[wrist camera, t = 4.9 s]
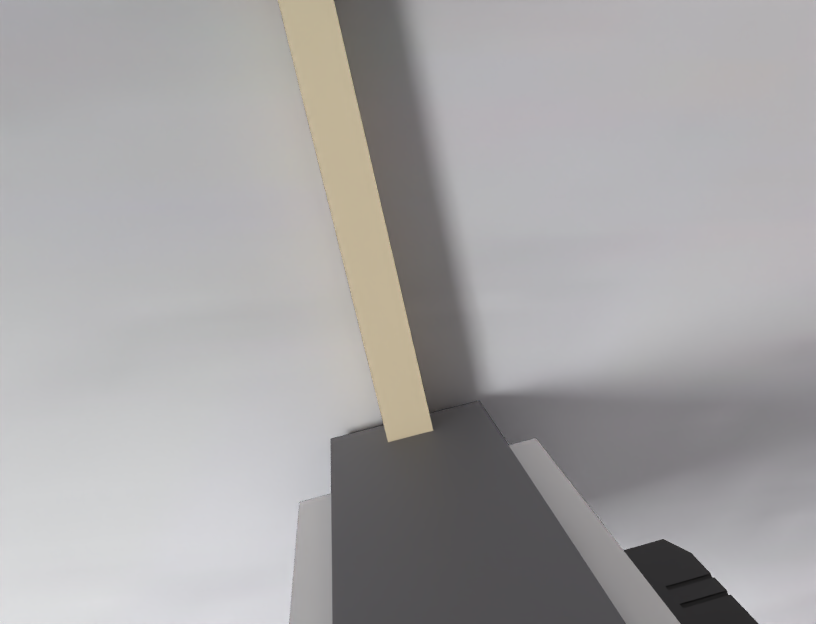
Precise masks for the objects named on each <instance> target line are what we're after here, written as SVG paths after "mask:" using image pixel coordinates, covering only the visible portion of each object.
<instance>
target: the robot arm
mask: <svg viewBox="0 0 816 624" xmlns="http://www.w3.org/2000/svg"><path fill="white" fill-rule="evenodd" d="M509 447H510V448H511V450H512V451H513V453H514V454H515V456H516V457H517V459H518V460H519V462H520V463H521V465H522V466H523V468H524V469H525V471H526V472H527V474H528V475H529V477H530V479H531V480H532V482H533V483H534V485H535V486H536V488H537V489H538V491H539V492H540V494H541V495H542V497H543V498H544V500H545V501H546V503H547V504H548V506H549V507H550V509H551V510H552V512H553V513H554V515H555V516H556V518H557V520H558V521H559V523H560V524H561V526H562V527H563V529H564V530H565V532H566V533H567V535H568V536H569V538H570V539H571V541H572V542H573V544H574V545H575V547H576V548H577V550H578V551H579V553H580V554H581V556H582V557H583V559H584V561H585V562H586V564H587V565H588V567H589V568H590V570H591V571H592V573H593V574H594V576H595V577H596V579H597V580H598V582H599V583H600V585H601V586H602V588H603V589H604V591H605V592H606V594H607V595H608V597H609V599H610V600H611V602H612V603H613V605H614V606H615V608H616V609H617V611H618V612H619V614H620V615H621V617H622V618H623V620H624V621H625V623H626V624H758V623H757V622H756V621H755V620H754V619H753V618H752V617H751V616H750V614H749V613H748V612H747V611H746V610H745V609H744V608H743V607H742V606H741V605H740V604H739V603H738V602H737V601H736V600H735V599H734V598H733V597H732V596H731V595H728V593H727V590H726V589H725V588H724V587H723V586H722V585H721V584H720V583H719V582H718V581H717V580H716V579H715V578H712V576H711V574H710V572H709V571H708V570H707V569H706V568H705V567H704V566H703V565H702V564H701V563H700V562H699V561H698V560H697V559H696V558H695V557H694V556H693V554H692V553H690V552H688V551H686V550H684V549H682V548H680V547H678V546H676V545H674V544H672V543H670V542H668V541H666V540H664V539H662V540H659V541H655V542H652V543H648V544H645V545H641V546H637V547H634V548H630V549H627V550H623V549H622V548H621V547H620V545H619V544H618V543H617V541H616V540H615V539H614V538H613V536H612V535H611V534H610V533H609V531H608V530H607V529H606V527H605V526H604V525H603V524H602V522H601V521H600V520H599V518H598V517H597V516H596V515H595V513H594V512H593V511H592V509H591V508H590V507H589V506H588V504H587V503H586V502H585V500H584V499H583V498H582V497H581V495H580V494H579V493H578V491H577V490H576V489H575V488H574V486H573V485H572V484H571V482H570V481H569V480H568V479H567V477H566V476H565V475H564V473H563V472H562V471H561V470H560V468H559V467H558V466H557V464H556V463H555V462H554V461H553V459H552V458H551V457H550V455H549V454H548V453H547V452H546V450H545V449H544V448H543V447H542V445H541V444H540V443H539V441H538V440H537V439H536V438H534V439H530V440H526V441H523V442H519V443H515V444H512V445H509ZM289 624H332V526H331V494H327V495H324V496H320V497H316V498H313V499H309V500H305V501H302V502H299V511H298V523H297V535H296V547H295V559H294V571H293V583H292V595H291V607H290V619H289Z"/></svg>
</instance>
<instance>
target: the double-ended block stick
mask: <svg viewBox="0 0 816 624" xmlns="http://www.w3.org/2000/svg"><path fill="white" fill-rule="evenodd" d="M278 3H279V7H280V11H281V15H282V19H283V23H284V27H285V31H286V35H287V39H288V43H289V47H290V51H291V55H292V59H293V63H294V67H295V71H296V75H297V79H298V83H299V87H300V91H301V95H302V99H303V103H304V107H305V111H306V115H307V119H308V123H309V127H310V131H311V135H312V139H313V143H314V147H315V151H316V155H317V159H318V163H319V167H320V171H321V175H322V179H323V183H324V187H325V191H326V195H327V199H328V203H329V207H330V212H331V216H332V220H333V224H334V228H335V232H336V236H337V240H338V244H339V248H340V252H341V256H342V260H343V264H344V268H345V272H346V276H347V280H348V284H349V288H350V292H351V296H352V300H353V304H354V308H355V312H356V316H357V320H358V324H359V328H360V332H361V336H362V340H363V344H364V348H365V352H366V356H367V360H368V364H369V368H370V372H371V376H372V380H373V384H374V388H375V392H376V396H377V400H378V404H379V408H380V412H381V416H382V420H383V424H384V425H382V426H378V427H375V428H371V429H367V430H363V431H359V432H355V433H351V434H347V435H343V436H340V437H336V438H332V439H331V526H332V624H626V623H625V621H624V620H623V618H622V617H621V615H620V614H619V612H618V611H617V609H616V608H615V606H614V605H613V603H612V602H611V600H610V599H609V597H608V595H607V594H606V592H605V591H604V589H603V588H602V586H601V585H600V583H599V582H598V580H597V579H596V577H595V576H594V574H593V573H592V571H591V570H590V568H589V567H588V565H587V564H586V562H585V561H584V559H583V557H582V556H581V554H580V553H579V551H578V550H577V548H576V547H575V545H574V544H573V542H572V541H571V539H570V538H569V536H568V535H567V533H566V532H565V530H564V529H563V527H562V526H561V524H560V523H559V521H558V520H557V518H556V516H555V515H554V513H553V512H552V510H551V509H550V507H549V506H548V504H547V503H546V501H545V500H544V498H543V497H542V495H541V494H540V492H539V491H538V489H537V488H536V486H535V485H534V483H533V482H532V480H531V479H530V477H529V475H528V474H527V472H526V471H525V469H524V468H523V466H522V465H521V463H520V462H519V460H518V459H517V457H516V456H515V454H514V453H513V451H512V450H511V448H510V447H509V445H508V444H507V442H506V441H505V439H504V437H503V436H502V434H501V433H500V431H499V430H498V428H497V427H496V425H495V424H494V422H493V421H492V419H491V418H490V416H489V415H488V413H487V412H486V410H485V409H484V407H483V406H482V404H481V403H480V401H476V402H472V403H468V404H464V405H460V406H456V407H452V408H448V409H444V410H441V411H437V412H433V413H429V410H428V405H427V401H426V397H425V392H424V388H423V384H422V379H421V375H420V371H419V366H418V362H417V358H416V354H415V349H414V345H413V341H412V336H411V332H410V328H409V323H408V319H407V315H406V310H405V306H404V302H403V297H402V293H401V289H400V284H399V280H398V276H397V271H396V267H395V263H394V258H393V254H392V250H391V245H390V241H389V237H388V233H387V228H386V224H385V220H384V215H383V211H382V207H381V202H380V198H379V194H378V189H377V185H376V181H375V176H374V172H373V168H372V163H371V159H370V155H369V150H368V146H367V142H366V137H365V133H364V129H363V124H362V120H361V116H360V112H359V107H358V103H357V99H356V94H355V90H354V86H353V81H352V77H351V73H350V68H349V64H348V60H347V55H346V51H345V47H344V42H343V38H342V34H341V29H340V25H339V21H338V16H337V12H336V8H335V3H334V0H278Z"/></svg>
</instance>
